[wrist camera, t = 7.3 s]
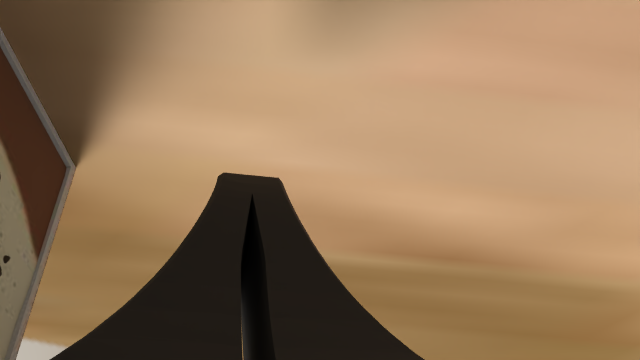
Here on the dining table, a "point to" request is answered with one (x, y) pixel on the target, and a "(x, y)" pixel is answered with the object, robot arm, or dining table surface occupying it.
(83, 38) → the dining table surface
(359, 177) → the dining table surface
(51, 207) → the food container
